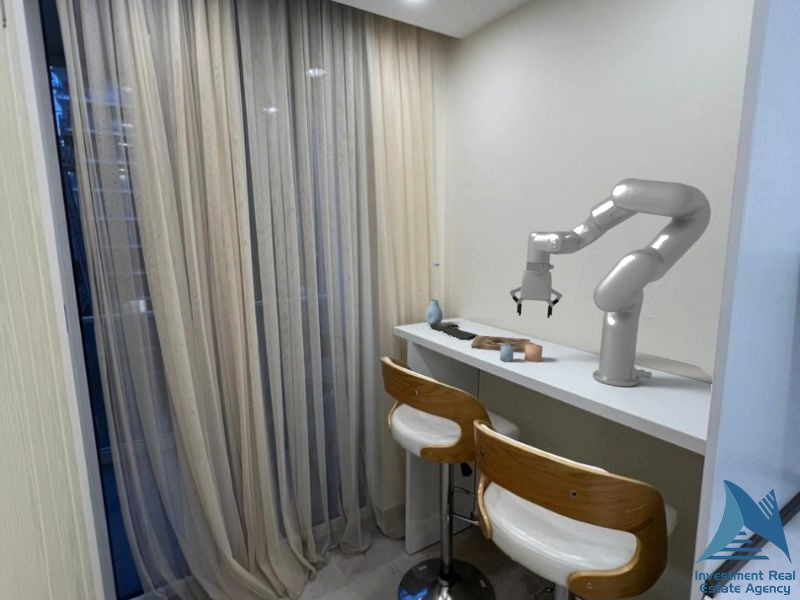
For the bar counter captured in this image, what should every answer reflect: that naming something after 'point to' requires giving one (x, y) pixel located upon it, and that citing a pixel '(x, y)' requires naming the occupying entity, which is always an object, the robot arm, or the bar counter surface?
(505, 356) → the blue-grey rounded cylinder
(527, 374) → the bar counter surface
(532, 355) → the tan rounded lump
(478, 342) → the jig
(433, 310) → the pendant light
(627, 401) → the bar counter surface
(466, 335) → the firearm
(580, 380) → the bar counter surface
